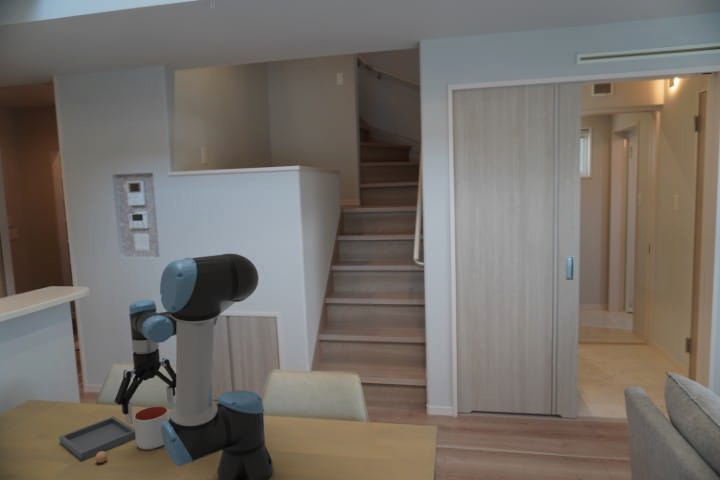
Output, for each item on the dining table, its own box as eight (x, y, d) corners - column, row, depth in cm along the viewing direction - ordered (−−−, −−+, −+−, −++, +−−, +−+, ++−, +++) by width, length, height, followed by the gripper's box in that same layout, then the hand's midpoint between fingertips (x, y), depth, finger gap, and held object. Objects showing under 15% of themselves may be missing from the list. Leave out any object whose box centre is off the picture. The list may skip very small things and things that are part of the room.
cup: (157, 452, 148) (155, 421, 147) (129, 450, 150) (126, 419, 149) (176, 436, 158) (174, 406, 157) (149, 433, 160) (147, 405, 159)
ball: (109, 461, 144) (108, 451, 143) (98, 466, 141) (97, 456, 141) (105, 457, 146) (104, 447, 145) (93, 462, 143) (92, 452, 143)
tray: (137, 437, 157) (136, 430, 157) (81, 461, 144) (80, 453, 144) (114, 422, 168) (113, 416, 168) (60, 443, 155) (59, 436, 155)
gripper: (176, 337, 163) (180, 397, 165) (98, 359, 143) (104, 426, 146) (188, 341, 158) (192, 403, 160) (110, 364, 139) (116, 434, 141)
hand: (150, 414), depth 153 cm, fingers open, 13 cm apart
